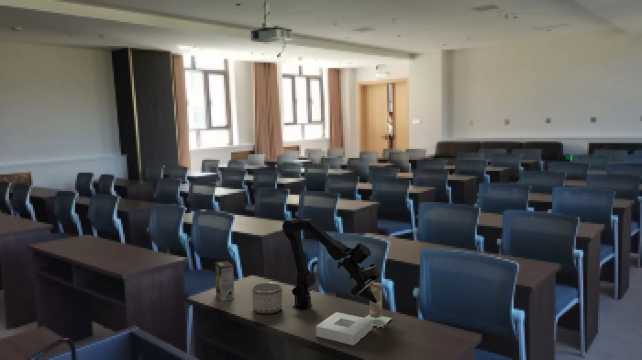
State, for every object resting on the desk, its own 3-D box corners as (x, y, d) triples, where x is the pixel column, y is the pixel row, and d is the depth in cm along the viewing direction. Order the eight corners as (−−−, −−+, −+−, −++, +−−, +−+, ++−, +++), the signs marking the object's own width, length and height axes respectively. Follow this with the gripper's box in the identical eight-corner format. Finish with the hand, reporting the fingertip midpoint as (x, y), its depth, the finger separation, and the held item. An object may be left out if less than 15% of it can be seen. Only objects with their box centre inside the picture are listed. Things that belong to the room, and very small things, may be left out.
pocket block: (316, 336, 187) (316, 326, 186) (336, 321, 200) (336, 312, 200) (353, 345, 179) (353, 335, 178) (372, 329, 192) (372, 319, 192)
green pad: (359, 323, 198) (359, 321, 198) (369, 314, 207) (369, 313, 207) (382, 328, 193) (382, 326, 193) (391, 319, 202) (392, 318, 202)
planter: (269, 318, 204) (268, 294, 203) (246, 311, 211) (246, 288, 210) (287, 308, 215) (287, 285, 214) (265, 302, 222) (265, 280, 221)
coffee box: (215, 295, 232) (214, 262, 230) (228, 293, 235) (227, 260, 233) (221, 301, 224) (220, 267, 222) (234, 299, 227) (233, 265, 225)
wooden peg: (369, 317, 197) (370, 286, 196) (369, 313, 202) (369, 282, 201) (382, 317, 197) (382, 286, 196) (381, 313, 202) (381, 282, 201)
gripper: (357, 264, 191) (383, 296, 187) (375, 253, 207) (400, 282, 203) (339, 280, 196) (364, 312, 192) (358, 268, 212) (382, 297, 208)
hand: (378, 300), depth 198 cm, fingers closed on wooden peg, 5 cm apart
